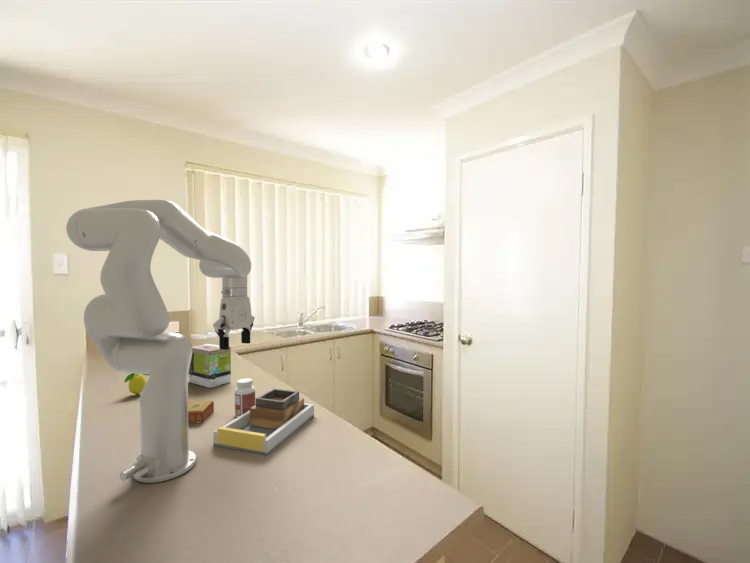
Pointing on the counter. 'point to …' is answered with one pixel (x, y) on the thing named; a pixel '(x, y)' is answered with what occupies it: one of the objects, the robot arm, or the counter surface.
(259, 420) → the box
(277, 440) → the bay
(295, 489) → the counter surface
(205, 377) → the tea box
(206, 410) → the carton
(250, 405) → the pill bottle
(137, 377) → the lemon
